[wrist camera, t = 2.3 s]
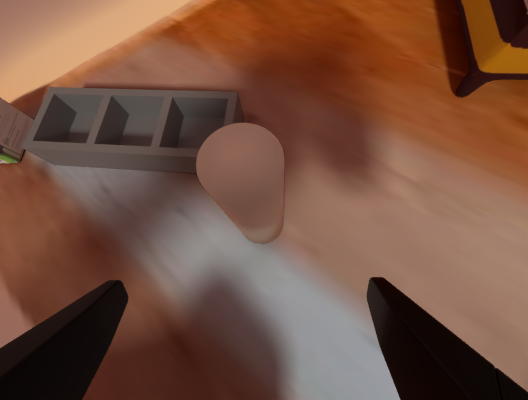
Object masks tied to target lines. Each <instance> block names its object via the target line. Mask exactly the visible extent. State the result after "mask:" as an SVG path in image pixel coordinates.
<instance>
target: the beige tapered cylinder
mask: <svg viewBox="0 0 528 400" xmlns="http://www.w3.org/2000/svg"><path fill="white" fill-rule="evenodd" d="M196 171H197V175H198V179H199V181H200V183H201V184H202V186H203V187H204V189H205V190H206V191H207V192H208V193H209V194H210V196H211V197H212V198H213V199H214V200H215V202H216V203H217V204H218V205H219V206H220V207H221V209H222V210H223V211H224V212H225V213H226V214H227V216H228V217H229V218H230V219H231V220H232V222H233V223H234V224H235V225H236V226H237V227H238V229H239V230H240V231H241V232H242V233H243V235H244V236H245V237H246V238H247V239H248V240H250V241H252V242H254V243H258V244H264V243H268V242H271V241H273V240H274V239H276V238H277V237H278V235H279V234H280V233H281V231H282V228H283V208H284V152H283V149H282V146H281V144H280V142H279V141H278V139H277V138H276V137H275V136H274V134H272V133H271V132H270V131H269V130H267V129H266V128H264V127H262V126H259V125H256V124H252V123H235V124H230V125H227V126H224V127H222V128H220V129H218V130H217V131H215V132H214V133H212V134H211V135H210V136H209V137H208V138H207V139H206V140H205V142H204V143H203V144H202V146H201V148H200V150H199V152H198V155H197V160H196Z"/></svg>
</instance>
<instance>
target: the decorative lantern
mask: <svg viewBox="0 0 528 400" xmlns="http://www.w3.org/2000/svg"><path fill="white" fill-rule="evenodd" d="M455 1H456V6H457V10H458V14H459V19H460V23H461V27H462V31H463V36H464V40H465V44H466V49H467V53H468V57H469V68H468V72H467V74H466V76H465V77H464V78H463V80H462V81H461V83H460V84H459V86H458V87H457V89H456V95H457V96H458V97H465V96H468V95H469V94H471V93H472V92H473V91H475V90H476V89H477V88H479V87H480V86H482V85H483V84H485V83H487V82H490V81H493V80H502V79H518V80H528V0H455Z"/></svg>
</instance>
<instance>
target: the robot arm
mask: <svg viewBox="0 0 528 400" xmlns="http://www.w3.org/2000/svg"><path fill="white" fill-rule="evenodd" d="M367 302H368V305H369V309H370V313H371V316H372V320H373V324H374V327H375V331H376V334H377V338H378V341H379V345H380V348H381V351H382V353H383V356H384V358H385V361H386V364H387V366H388V369H389V371H390V374H391V376H392V379H393V382H394V384H395V387H396V389H397V392H398V394H399V397H400V399H401V400H528V392H527V391H526V390H524V389H523V388H522V387H521V386H519V385H518V384H517V383H515V382H514V381H513V380H512V379H510V378H509V377H508V376H507V375H505V374H504V373H503V372H502V371H500V370H499V369H498V368H495V367H494V365H493V364H491V363H490V362H489V361H488V360H486V359H485V358H484V357H483V356H481V355H480V354H479V353H478V352H476V351H475V350H474V349H473V348H471V347H470V346H469V345H468V344H466V343H465V342H464V341H462V340H461V339H460V338H459V337H457V336H456V335H455V334H454V333H452V332H451V331H450V330H449V329H447V328H446V327H445V326H444V325H442V324H441V323H440V322H439V321H437V320H436V319H435V318H434V317H432V316H431V315H430V314H429V313H427V312H426V311H425V310H424V309H422V308H421V307H420V306H419V305H417V304H416V303H415V302H414V301H412V300H411V299H410V298H408V297H407V296H406V295H405V294H403V293H402V292H401V291H400V290H398V289H397V288H396V287H395V286H393V285H392V284H391V283H390V282H388V281H387V280H386V279H385V278H383V277H371V278H370V280H369V284H368V290H367ZM127 303H128V294H127V292H126V289H125V287H124V285H123V282H122V281H121V280H109V281H107V282H105V283H104V284H102V285H100V286H99V287H97V288H96V289H94V290H92V291H91V292H89V293H88V294H86V295H84V296H83V297H81V298H80V299H78V300H76V301H75V302H73V303H72V304H70V305H68V306H67V307H65V308H64V309H62V310H61V311H59V312H57V313H56V314H54V315H53V316H51V317H49V318H48V319H46V320H45V321H43V322H41V323H40V324H38V325H37V326H35V327H33V328H32V329H30V330H29V331H27V332H25V333H24V334H22V335H21V336H19V337H18V338H16V339H14V340H13V341H11V342H9V343H8V344H6V345H5V346H3V347H1V348H0V400H82V399H83V397H84V395H85V393H86V391H87V389H88V387H89V385H90V383H91V381H92V379H93V377H94V375H95V374H96V372H97V370H98V368H99V366H100V364H101V362H102V360H103V358H104V356H105V354H106V352H107V350H108V348H109V346H110V344H111V342H112V339H113V337H114V335H115V332H116V330H117V327H118V325H119V322H120V320H121V317H122V315H123V313H124V310H125V308H126V305H127Z"/></svg>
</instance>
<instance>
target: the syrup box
mask: <svg viewBox="0 0 528 400" xmlns="http://www.w3.org/2000/svg"><path fill="white" fill-rule="evenodd" d="M33 122H34V120H33V119H32V118H30V117H29V116H27V115H26V114H24V113H23V112H21V111H20V110H18V109H16V108H15V107H13V106H12V105H11V104H9V103H8V102H6V101H5V100H3V99H1V98H0V163H18V162H20V159H21V157H22V154H23V151H24V149H23V148H21V147H22V145H23V143H24V141H25V139H26V137H27V135H28V132H29V130H30V128H31V126H32V124H33Z"/></svg>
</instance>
